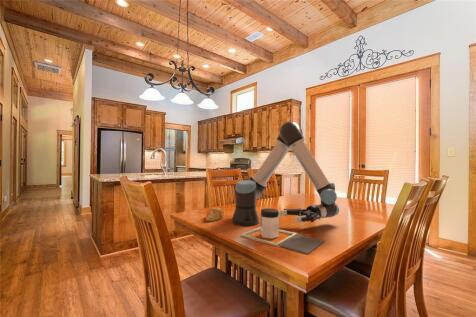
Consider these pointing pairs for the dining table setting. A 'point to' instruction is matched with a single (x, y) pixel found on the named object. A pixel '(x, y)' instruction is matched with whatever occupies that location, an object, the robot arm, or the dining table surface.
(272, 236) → the jar
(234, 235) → the dining table surface
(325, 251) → the dining table surface
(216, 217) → the croissant
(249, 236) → the frame
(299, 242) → the mat
